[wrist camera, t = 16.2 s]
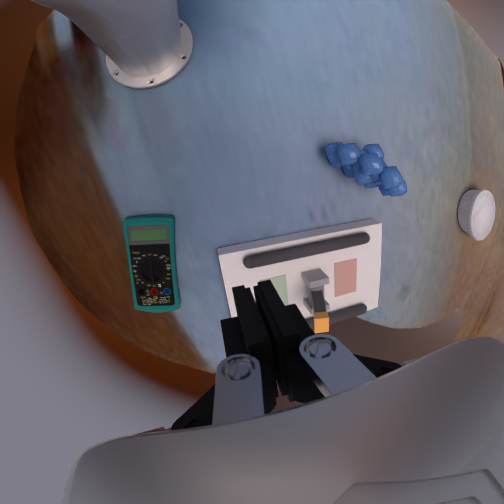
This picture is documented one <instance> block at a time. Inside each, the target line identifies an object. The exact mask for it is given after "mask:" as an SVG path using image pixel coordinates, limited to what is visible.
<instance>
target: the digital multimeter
mask: <svg viewBox="0 0 504 504" xmlns="http://www.w3.org/2000/svg"><path fill="white" fill-rule="evenodd" d="M123 230H124V237H125V243H126V249H127V256H128V263H129V269H130V277H131V285H132V292H133V301H134V307H135V309H136V310H141V311H146V312H166V311H171V310H175V309H179V308H180V294H179V288H178V280H177V271H176V258H175V218H174V216H173V215H140V216H133V217H128V218H126V219H125V220H124V221H123ZM139 273H140V274H139ZM155 282H156V283H155Z"/></svg>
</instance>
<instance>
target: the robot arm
mask: <svg viewBox="0 0 504 504" xmlns="http://www.w3.org/2000/svg"><path fill="white" fill-rule="evenodd" d="M32 1H35V2H37V3H39V4H42V5H45V6H47V7H50V8H52V9H54V10H57V11H59V12H60V13H62V14H64V15H65V16H66V17H68V18H69V19H70V20H72V21H73V22H74V23H75V24H76V25H77V26H78V27H79V28H80V29H81V30H82V31H83V32H84V33H85V34H86V35H87V36H88V37H89V38H90V39H91V40H92V41H93V42H94V43H95V44H96V45H97V46H98V47H99V48H100V49H101V50H102V51H103V52H104V53H105V62H106V67H107V70H108V72H109V74H110V75H111V76H112V77H113V79H115V80H116V81H117V82H118V83H120V84H122V85H123V86H126V87H129V88H134V89H148V88H153V87H157V86H159V85H162V84H164V83H166V82H168V81H170V80H172V79H173V78H174V77H175V76H177V75H178V74H179V73H180V72H181V71H182V70H183V69H184V68H185V66H186V65H187V63H188V62H189V59H190V57H191V55H192V50H193V37H192V33H191V31H190V29H189V27H188V26H187V24H186V23H185V22H183V21H182V20H181V19H179V15H178V6H177V0H32ZM180 26H181V28H180ZM183 57H185V58H186V59H182V58H183ZM117 73H119V74H118V75H117V76H116V74H117ZM151 81H154V83H152V84H150V82H151ZM253 289H254V295H255V299H254V297H253V294H252V292H251V289H250V287H248V288H245V286H244V285H241V286H236V287H232V292H233V297H234V302H235V307H236V312H237V317H232V318H228V319H223V320H220V321H221V327H222V333H223V339H224V345H225V351H226V357H227V358H225V359H224V360H222V361H221V362H220V364H219V365H218V367H217V372H216V383H215V385H214V386H213V387H212V388H211V389H209V390H208V391H207V392H206V393H205V394H204V395H203V396H202V397H201V398H200V399H199V400H198V401H197V402H196V403H195V404H194V405H193V406H192V407H190V408H189V409H188V410H187V411H186V412H185V413H184V414H183V415H182V416H181V417H180V418H178V419H177V420H176V421H175V423H174V424H173V425H172V427H171V428H168V429H165V428H164V427H160V428H157V429H153V430H150V431H145V432H142V433H137V434H133V435H128V436H122V437H117V438H113V439H109V440H106V441H103V442H100V443H97V444H95V445H92V446H90V447H88V448H87V449H85V450H83V451H82V452H81V453H80V454H79V455H78V456H77V457H76V458H75V460H74V462H73V463H72V465H71V468H70V470H69V473H68V477H67V479H66V483H65V488H64V492H63V497H62V503H61V504H504V343H502V342H500V341H499V340H497V339H495V338H492V337H488V336H481V337H473V338H467V339H464V340H461V341H457V342H455V343H452V344H450V345H447V346H445V347H443V348H441V349H439V350H437V351H435V352H433V353H431V354H428V355H426V356H424V357H422V358H418V359H415V360H411V361H406V362H404V363H403V365H402V366H401V365H399V364H397V363H393V362H389V361H384V360H379V359H374V358H369V357H364V356H359V355H355V354H352V353H351V352H350V351H349V350H348V349H347V348H346V347H345V346H344V345H343V344H342V343H341V342H339V341H338V340H337V339H336V338H334V337H333V336H330V335H324V334H318V335H315V334H314V333H313V331H312V329H311V328H310V326H309V324H308V323H307V321H306V320H305V318H304V317H303V315H302V313H301V312H300V310H299V309H298V307H297V305H296V304H290V305H286V306H285V305H284V303H283V301H282V300H281V298H280V296H279V294H278V293H277V291H276V289H275V287H274V285H273V284H272V282H271V280H270V279H269V280H265V281H260V282H257V286H253ZM255 301H256V302H255ZM276 381H277V382H276ZM277 383H278V386H279V389H280V391H281V394H282V396H284V395H287V396H288V399H289V401H290V402H292V401H298V402H301V403H302V405H298V406H295V407H291V408H287V409H284V410H280V411H276V412H272V413H270V412H271V411H272V410H273V408H274V407H275V406H276V398H277V397H278V390H277Z"/></svg>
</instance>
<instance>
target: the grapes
mask: <svg viewBox="0 0 504 504" xmlns="http://www.w3.org/2000/svg"><path fill="white" fill-rule="evenodd" d="M325 152H326V154H327V157H328V159H329V160H330V163H331V165H332V166H333V168H338V167H342V168H343V170H344V173H345V175H346V176H347V177H354V178H355V180H356V182H357V183H358V184H364V186H365V187H366V188H372V187H377V186H378V187H379V189H380V191H381V193H382V195H383V196H384V195H390V196H401V195H403V194H405V193H406V192H407V185H406V183H405V181H404V179H403V177H402V176H401V174H400V172H399V171H398V169H397V167H396V166H390V167H387V165H386V164H385V162H384V153H383V150H382V149H381V147H380V146H379V144H369V145H366V146H364V147H363V150H359V149H358V148H357V147H356V145H355V144H354V143H348V144H342V142H336V143H331V144H328V145H327V146H326V147H325Z"/></svg>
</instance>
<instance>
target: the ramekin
mask: <svg viewBox="0 0 504 504" xmlns="http://www.w3.org/2000/svg"><path fill="white" fill-rule="evenodd" d="M494 217H495V203H494V198H493V196H492V194H491V193H490V192H489V191H488V190H485V189H482V190H469V191H467V192H466V193H465V194H464V195H463V196H462V198H461V200H460V203H459V207H458V221H459V224H460V226H461V228H462V229H463V230H464V231H465V232H467V233H468V234H469V235H471V236H472V237H473V238H474V239H476V240H483V239H484V238H485V237H486V236H487V235H488V234H489V232H490V230H491V228H492V225H493V222H494Z"/></svg>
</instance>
